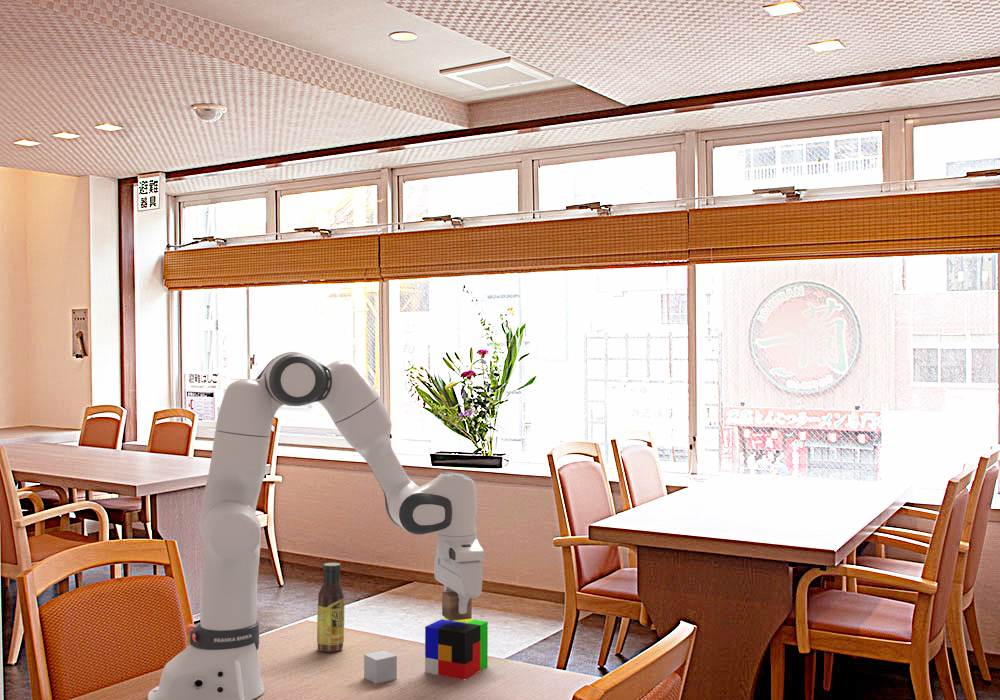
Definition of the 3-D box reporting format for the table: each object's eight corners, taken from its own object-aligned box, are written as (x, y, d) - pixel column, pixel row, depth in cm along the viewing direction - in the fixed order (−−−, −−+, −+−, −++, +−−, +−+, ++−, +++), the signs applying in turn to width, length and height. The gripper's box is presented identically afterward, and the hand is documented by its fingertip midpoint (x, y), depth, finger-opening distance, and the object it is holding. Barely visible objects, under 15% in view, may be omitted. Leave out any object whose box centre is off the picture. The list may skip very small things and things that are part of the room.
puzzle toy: (425, 672, 206) (425, 626, 206) (448, 660, 215) (448, 615, 215) (465, 680, 201) (465, 632, 201) (487, 666, 210) (487, 621, 210)
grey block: (376, 684, 198) (376, 660, 198) (364, 678, 202) (364, 654, 202) (396, 679, 202) (396, 655, 202) (384, 673, 205) (384, 650, 205)
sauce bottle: (335, 654, 218) (335, 568, 218) (311, 651, 220) (311, 566, 220) (349, 646, 224) (349, 562, 224) (326, 644, 226) (326, 560, 226)
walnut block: (450, 620, 205) (450, 597, 205) (442, 615, 209) (442, 592, 209) (471, 618, 207) (471, 595, 207) (463, 612, 211) (463, 590, 211)
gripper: (427, 539, 216) (427, 599, 216) (459, 556, 198) (459, 622, 197) (453, 537, 219) (453, 597, 219) (487, 553, 200) (487, 619, 200)
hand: (456, 609), depth 208 cm, fingers closed on walnut block, 5 cm apart
